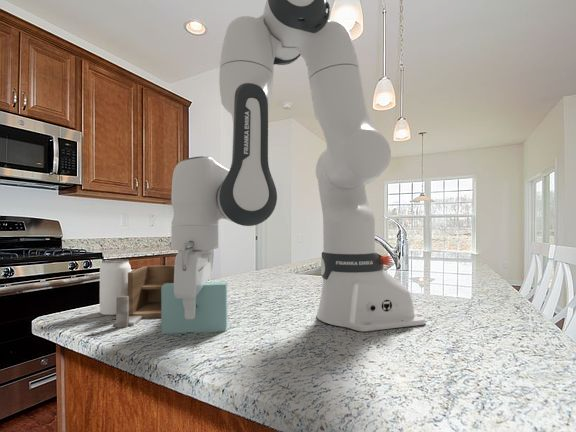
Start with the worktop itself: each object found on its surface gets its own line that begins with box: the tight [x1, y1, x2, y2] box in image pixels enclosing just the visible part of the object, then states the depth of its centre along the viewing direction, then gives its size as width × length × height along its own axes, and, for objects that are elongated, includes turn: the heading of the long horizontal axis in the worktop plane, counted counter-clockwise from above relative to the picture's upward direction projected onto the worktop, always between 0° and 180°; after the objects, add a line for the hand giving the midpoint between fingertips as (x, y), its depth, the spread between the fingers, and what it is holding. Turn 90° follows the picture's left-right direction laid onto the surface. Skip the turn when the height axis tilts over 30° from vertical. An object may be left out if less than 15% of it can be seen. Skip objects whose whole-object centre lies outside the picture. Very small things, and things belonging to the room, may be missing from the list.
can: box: [99, 258, 132, 317], centre depth 76 cm, size 6×6×12 cm
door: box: [160, 281, 228, 335], centre depth 63 cm, size 12×4×9 cm, turn 96°
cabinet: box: [112, 264, 175, 328], centre depth 74 cm, size 16×17×10 cm
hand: (195, 310), depth 63 cm, fingers open, 8 cm apart
